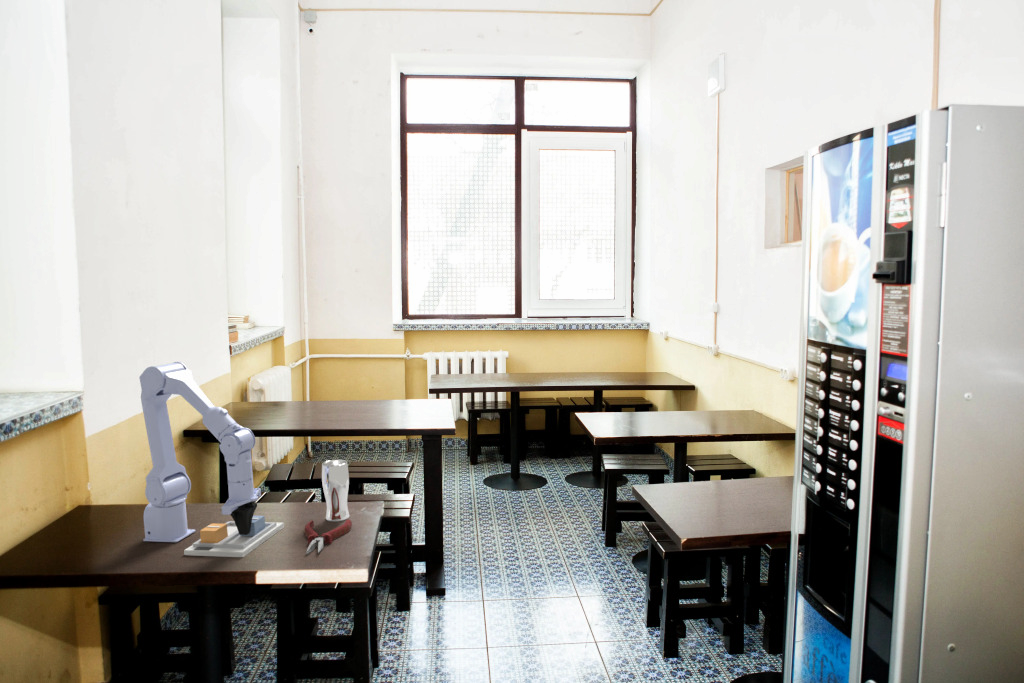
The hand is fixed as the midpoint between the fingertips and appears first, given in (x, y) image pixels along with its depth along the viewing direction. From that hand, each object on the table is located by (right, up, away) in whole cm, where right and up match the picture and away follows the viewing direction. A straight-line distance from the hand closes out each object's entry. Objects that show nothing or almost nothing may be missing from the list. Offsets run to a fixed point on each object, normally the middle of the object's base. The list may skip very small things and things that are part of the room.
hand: (244, 533), depth 180 cm
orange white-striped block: (-7, -1, -1) cm, 7 cm away
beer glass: (+19, 0, +17) cm, 25 cm away
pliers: (+17, -2, +2) cm, 18 cm away
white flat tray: (-3, -2, +2) cm, 4 cm away
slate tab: (+1, -1, +4) cm, 4 cm away
